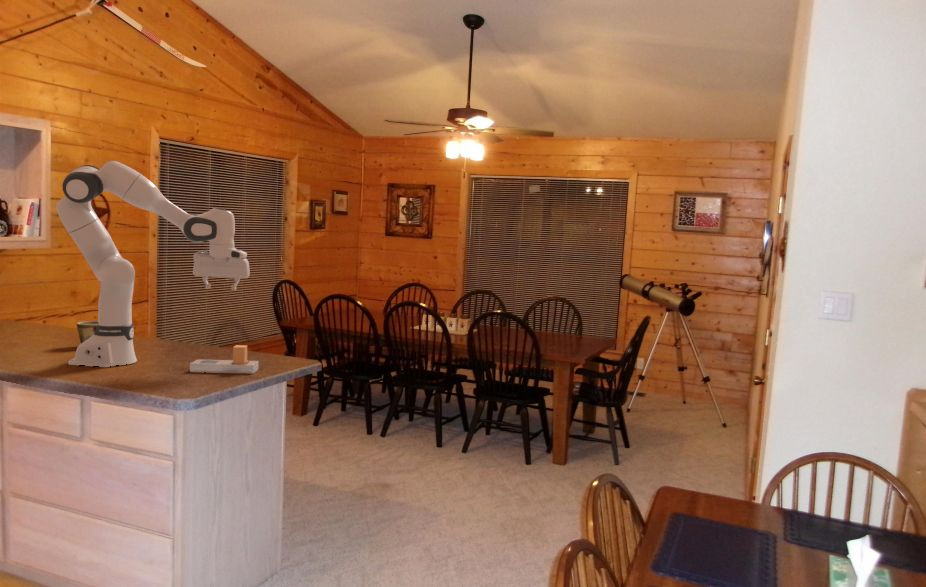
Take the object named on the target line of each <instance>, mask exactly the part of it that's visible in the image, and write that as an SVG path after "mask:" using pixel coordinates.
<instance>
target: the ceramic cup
mask: <svg viewBox="0 0 926 587" xmlns="http://www.w3.org/2000/svg"><path fill="white" fill-rule="evenodd" d="M96 325H98V320H89V321H87V320H85V321H79V322H77V323H76V328H77V329H76V330H77V332H78V336H79V340H80V344H82V343H83V342H84V341H86V340H87V339H88V338H90V337H91V336H92V335H94V331H91V330H92V329H93V327H94V326H96Z"/></svg>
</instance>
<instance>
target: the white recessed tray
mask: <svg viewBox="0 0 926 587" xmlns="http://www.w3.org/2000/svg"><path fill="white" fill-rule="evenodd" d="M259 362H260V361H259V360H247V364H233V359H201V358H200V359H195V360H194V361H192V362H190V363H189V372H190V373H204V372H206V373H211V374H212V373H213V374H244V373H245V374H248V375H249V374H250V375H253V374H255V373H256V372H257V371H258V370H259ZM206 373H205V374H206ZM245 374H244V375H245Z"/></svg>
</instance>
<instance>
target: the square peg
mask: <svg viewBox="0 0 926 587" xmlns="http://www.w3.org/2000/svg"><path fill="white" fill-rule="evenodd" d="M232 360H233V364H247V361H248V345H242V344H241V345H240V344H236V345H235V346H233V347H232Z"/></svg>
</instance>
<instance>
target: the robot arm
mask: <svg viewBox="0 0 926 587" xmlns="http://www.w3.org/2000/svg"><path fill="white" fill-rule="evenodd" d="M61 185H62V186H61V187H62V193H63V194H64V197H62V198H61V199H60V200H58V201H57V203H56V204H55V210H56V213H57V215H58V218H59V219H60V222H62V225H63V227H64V229H65V230H66V232H67V233H68V234H69V236H70V238H71V239H72V240H73V242H74V243H75V245H76V246H77V248H78V249H79V252H81V254H82V256H83V258H84V259H85V261H86V262H87V264H88V266H89V267H90V269H91V271H92V272H93V274H94V275H95V277H96V279H97V280H98V281H99V282H100V287H99V289H100V291H99V297H98V298H99V299H98V303H97V311H98V312H97V313H98V315H97V318H98V319H97V321H98V325H96V326H94V327H93V329H92V330H91V331H94V335H92V336H91V337H90V338H88V339H87V340H86V341H84V342H83V343H82V344H81V343H79V345H78V346H77V348H76V351H75V355H74V357H73V358H71V359H69V360H68V365H69V366H79V365H85V366H84V367H93V366H99V367H98V368H110V366H111V367H115V366H116V365H119V366H126V364H127V365H132V364H135V363H136V362H138V359H137V355H136V353H135V347H134V331H135V330H134V323H133V320H132V319H133V318H132V317H133V313H132V312H133V309H132V308H133V306H132V305H133V295H134V287H135V277H136V270H135V267H134V265H133V264H132V262H130V261H129V260H127V259H126V258H123V256H122V255H121V253H120V251H119V250H118V249H117V247H116V245H115V243H114V241H113V239H112V237H111V234H109V231H108V230H107V229H106V227H105V226H104V224H103V223H102V221H101V220H100V218H99V216H98V215H97V213H96V212H95V210H94V209H93V206H92V200H93V201H94V199H95V198H97V197H99V196H100V195H101V194H103V192H109V193H111V194H113V195H115V196H116V197H118V198H119V199H121V200H123V202H125V203H128V204H130V205H132V206H133V207H136V208H138V209H141V210H145V211H147V212H152V213H154V214H156V215H158V216H160V217H162V218H164V219H165V220H166V221H168V222H169V223H171V224H173V225H174V226H175V227H177V228H178V229H179V230H180V231H181V233H182V235H183V237H185V238H186V240H188V241H189V242H193V243H203V242H206V241H208V242H209V248H208V249H209V250H208V251H201V250H198V251H196V252H194V253H193V255H192V258H193V259H192V260H193V267H192V274H193V276H195V277H202V281H203V282H204V284H205V289H206V290H208V289H209V290H210V289H211V288H212V287H211V286H212V283H209V281H208V279H209V277H211V278H216V277H217V278H229V279H230V278H231V279H234V284H231V285H230V289H231V291H236V290H237V286H238V285H239V282H240V280H241V279H248V278H249V277H250V274H251V272H250V271H251V270H250V262H249V260H248V259H247V257H248V253H247V252H246V251H243V250H241V249H239V248H235V247H236V246H235V241H234V240H235V238H234V237H235V233H236V228H235V227H236V221H235V215H234V213H233V212H232V211H231V210H228V209H226V208H225V209H224V208H220V207H212V209H210V210H208V211H206V212H203V213H201V214H198V215H196V214H191V213H189V212H188V211H187V212H186V211H185V210H183V209H182V208H180V207H179V206H177V205H176V204H174V203H172V201H170V200H168V199H167V198H166V197H165V196H164V195H163V193H162V192H161V191H160V189H159V188H158V187H157V186H156V184H155V183H153V182H152V181H151V180H149V178H147V177H146V176H144V175H143V174H141V173H140V172H139V171H137V170H135V169H134V168H132V167H130V166H128V165H126V164H124V163H122V162H119V161H116V160H109V161H107V162H105V164H102V166H101V167H100V168H99V167H97V166H95V165H90V164H84V165H81V166H79V167H77V168H75V169H73V170H71V171H70V173H69V174H67V175H66V176H65V178H64V179H63V181H62V184H61ZM116 367H117V366H116Z"/></svg>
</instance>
